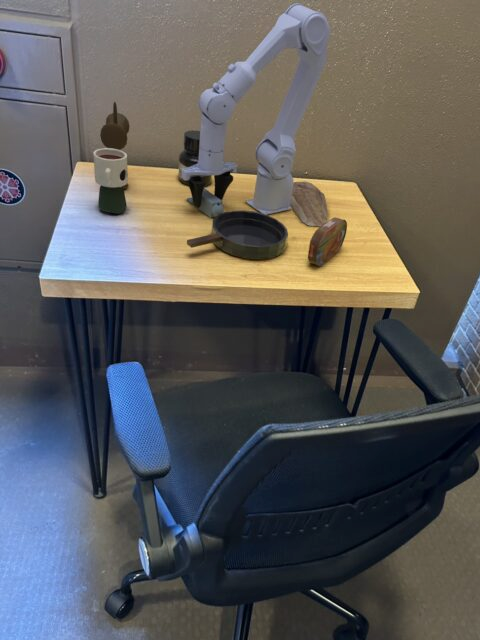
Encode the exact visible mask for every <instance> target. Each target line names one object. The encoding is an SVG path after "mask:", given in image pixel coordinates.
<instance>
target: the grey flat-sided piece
mask: <svg viewBox="0 0 480 640" xmlns="http://www.w3.org/2000/svg"><path fill="white" fill-rule="evenodd" d="M186 202H188V203H189V204H190V205H193V199H192V197H187V198H186ZM223 204H224V201H223V200H220V199H219V198H217V197H216V196H215V195H214V193H212V192H211V191H209V190H208V189H207V188H205V187H204V189H203V193H202V199H201V206H200V208H197V209H198V210H199V211H201V212H202V213H203V214H205V215H206V216H207V217H208V218H210V219H214V218H215V217H216V216H217V215H220V214H222V213H224V212H225V211H224V205H223ZM193 206H194V207H196V206H195V205H193Z"/></svg>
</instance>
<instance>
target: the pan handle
mask: <svg viewBox="0 0 480 640" xmlns="http://www.w3.org/2000/svg"><path fill="white" fill-rule="evenodd" d="M218 241H222V236H221V235H220V234H218V233H215V234H212V233H211V234H206V235H203V236H199V237H194V238H189V239H186V245H187V246H189V248H191V249H192V248H197V247H202V246H205V245H209V244H214V242H218Z"/></svg>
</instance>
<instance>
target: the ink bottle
mask: <svg viewBox="0 0 480 640" xmlns="http://www.w3.org/2000/svg"><path fill="white" fill-rule="evenodd" d="M199 144H200V130H187V131H185V132H184V134H183V150H182V151H181V152H180V153H179V155H178V180H179V182H181V183H182V184H183V185H186V186H189V185H188V183H187V181H186V180H185V179H183V178H182V177H181V175H182V169H185V168H188V167H191V166H193V165H196V164H198V160H199ZM212 178H213V175H210V176H203V177H200V179H202V182H204V183H205V186H204V187H207V186H209V185H210V184H211V183H212Z"/></svg>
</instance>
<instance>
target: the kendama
mask: <svg viewBox="0 0 480 640" xmlns="http://www.w3.org/2000/svg"><path fill="white" fill-rule="evenodd" d="M112 105H113V106H112V113H110V114H108V115H107V117H106V118H105V124H104V125H103V126H102V127H101V129H100V134H99V136H100V141H101V142H102V145H103V146H104V147H105V148H113V149H118V150H121V151H122V149H125V147H126V146H127V144H128V133H129V132H130V122H129V119H128V118H127V116H125V114H122V113H119V112H118V106H117V102H116V101H114V102H113V103H112ZM128 182H129V181H128ZM128 182H127V184H126V185H124V186H122V187H123V189H124V190H125V189H127V188H128V187H129V183H128Z"/></svg>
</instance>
